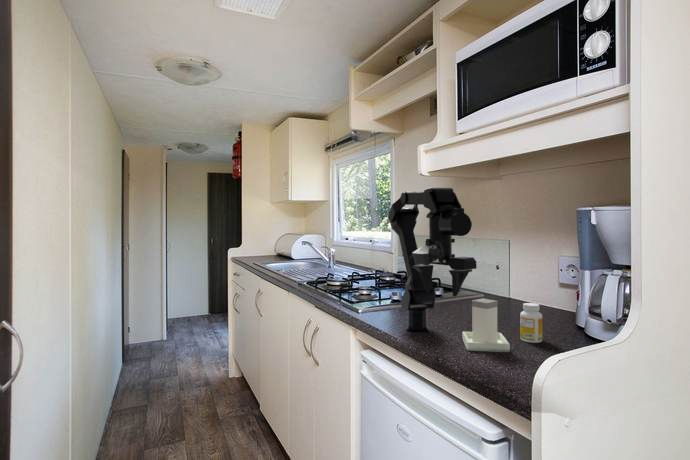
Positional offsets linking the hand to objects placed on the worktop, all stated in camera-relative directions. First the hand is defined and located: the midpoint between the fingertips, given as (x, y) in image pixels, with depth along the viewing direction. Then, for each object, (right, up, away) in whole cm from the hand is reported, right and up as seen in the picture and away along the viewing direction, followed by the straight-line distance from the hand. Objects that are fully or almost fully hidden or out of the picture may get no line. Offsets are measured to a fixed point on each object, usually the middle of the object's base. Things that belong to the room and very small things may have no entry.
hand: (440, 293), depth 107 cm
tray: (+11, -13, -2) cm, 17 cm away
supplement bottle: (+25, -13, +1) cm, 28 cm away
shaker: (+11, -12, -2) cm, 17 cm away
